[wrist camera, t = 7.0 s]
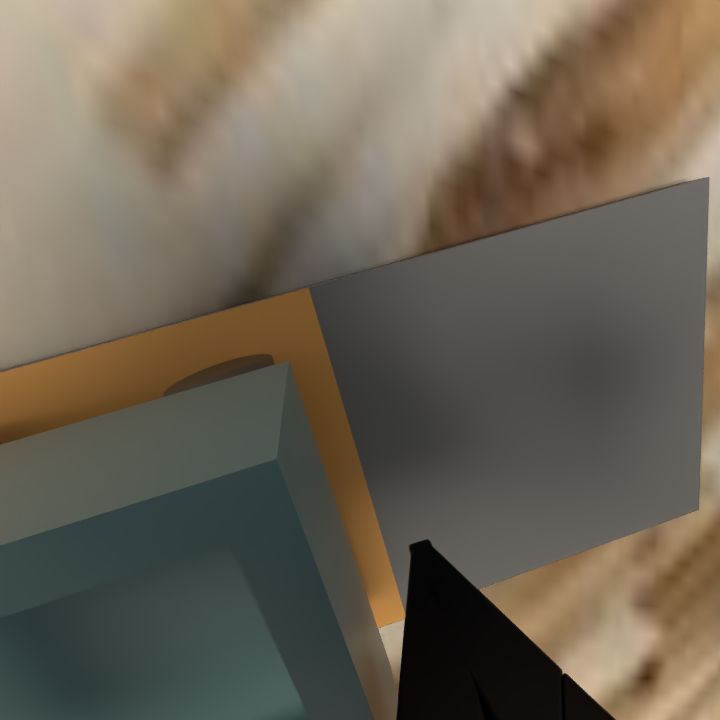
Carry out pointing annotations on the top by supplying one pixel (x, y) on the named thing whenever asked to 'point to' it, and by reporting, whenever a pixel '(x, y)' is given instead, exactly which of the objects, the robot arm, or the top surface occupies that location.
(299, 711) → the box
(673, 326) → the track
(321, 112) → the top surface
